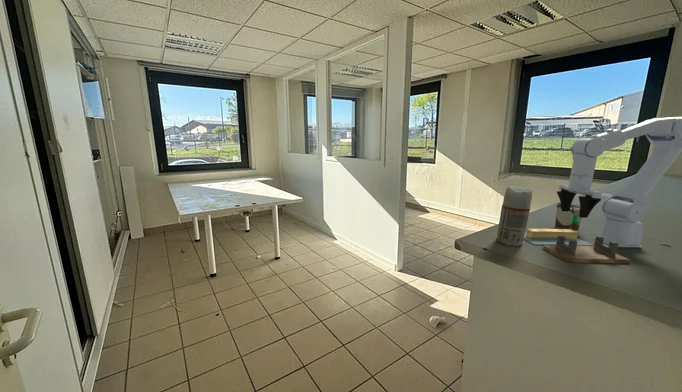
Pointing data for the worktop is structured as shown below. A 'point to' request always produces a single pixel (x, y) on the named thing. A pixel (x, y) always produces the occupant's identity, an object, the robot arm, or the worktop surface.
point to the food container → (568, 218)
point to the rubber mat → (554, 241)
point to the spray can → (514, 215)
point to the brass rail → (551, 234)
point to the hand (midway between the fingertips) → (573, 214)
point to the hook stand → (586, 251)
